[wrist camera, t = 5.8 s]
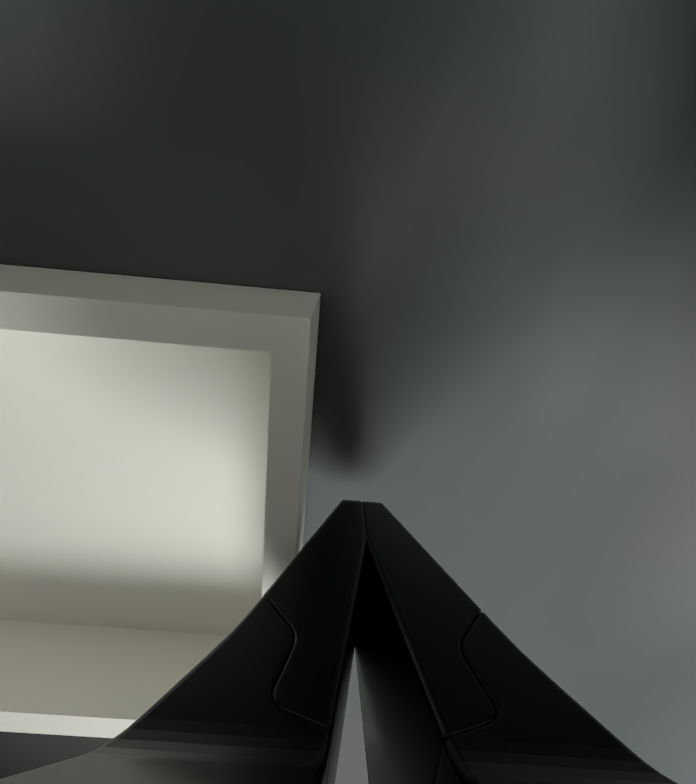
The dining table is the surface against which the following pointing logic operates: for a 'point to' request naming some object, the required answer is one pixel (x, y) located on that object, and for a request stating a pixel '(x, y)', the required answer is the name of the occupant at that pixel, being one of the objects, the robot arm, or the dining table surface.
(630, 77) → the dining table surface
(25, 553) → the shell lid
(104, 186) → the dining table surface
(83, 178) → the dining table surface
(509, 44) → the dining table surface
